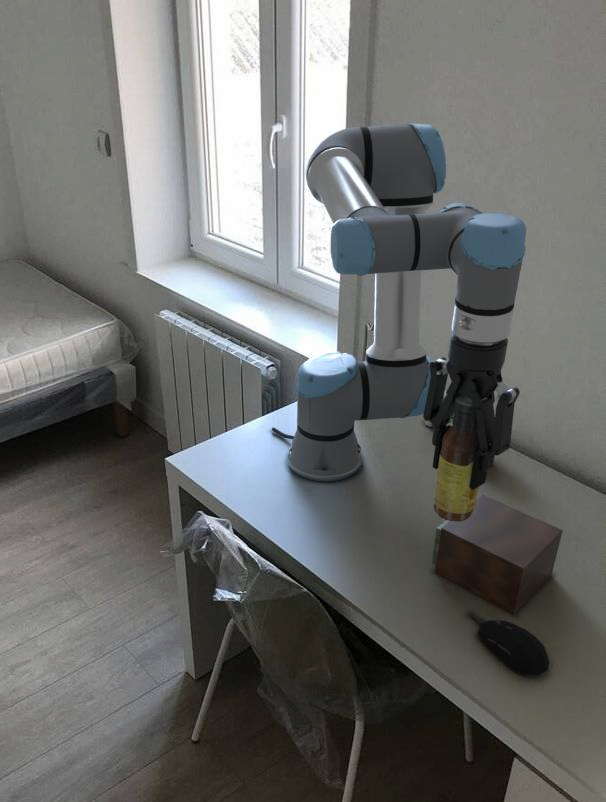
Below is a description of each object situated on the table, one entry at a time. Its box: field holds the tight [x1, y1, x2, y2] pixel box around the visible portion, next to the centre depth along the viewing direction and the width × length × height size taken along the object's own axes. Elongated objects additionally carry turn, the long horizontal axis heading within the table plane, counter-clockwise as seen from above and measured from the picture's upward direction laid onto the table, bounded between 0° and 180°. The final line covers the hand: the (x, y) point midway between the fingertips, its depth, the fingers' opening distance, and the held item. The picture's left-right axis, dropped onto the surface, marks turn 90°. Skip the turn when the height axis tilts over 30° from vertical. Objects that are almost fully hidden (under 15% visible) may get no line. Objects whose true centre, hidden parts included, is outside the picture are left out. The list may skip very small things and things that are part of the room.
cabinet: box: [434, 494, 563, 614], centre depth 131 cm, size 15×13×10 cm
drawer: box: [431, 519, 449, 566], centre depth 133 cm, size 15×12×8 cm
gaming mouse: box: [469, 613, 550, 676], centre depth 120 cm, size 6×15×4 cm, turn 30°
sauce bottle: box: [433, 395, 480, 522], centre depth 116 cm, size 6×6×20 cm
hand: (458, 474), depth 118 cm, fingers closed on sauce bottle, 6 cm apart
